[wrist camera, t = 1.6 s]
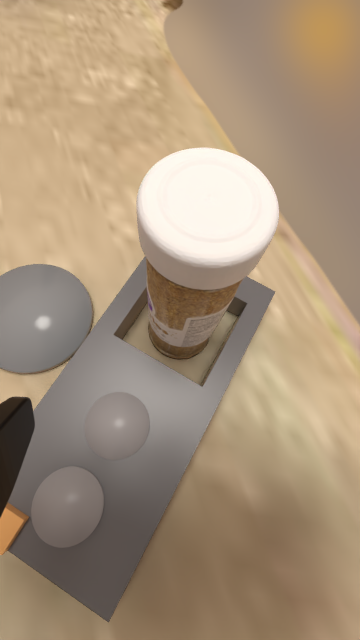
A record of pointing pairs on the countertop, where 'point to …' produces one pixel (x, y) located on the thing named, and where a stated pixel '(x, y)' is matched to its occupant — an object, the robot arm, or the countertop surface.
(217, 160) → the sprinkles bottle
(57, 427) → the grey domed holder tray
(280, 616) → the countertop surface
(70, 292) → the slate coaster
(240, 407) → the countertop surface
